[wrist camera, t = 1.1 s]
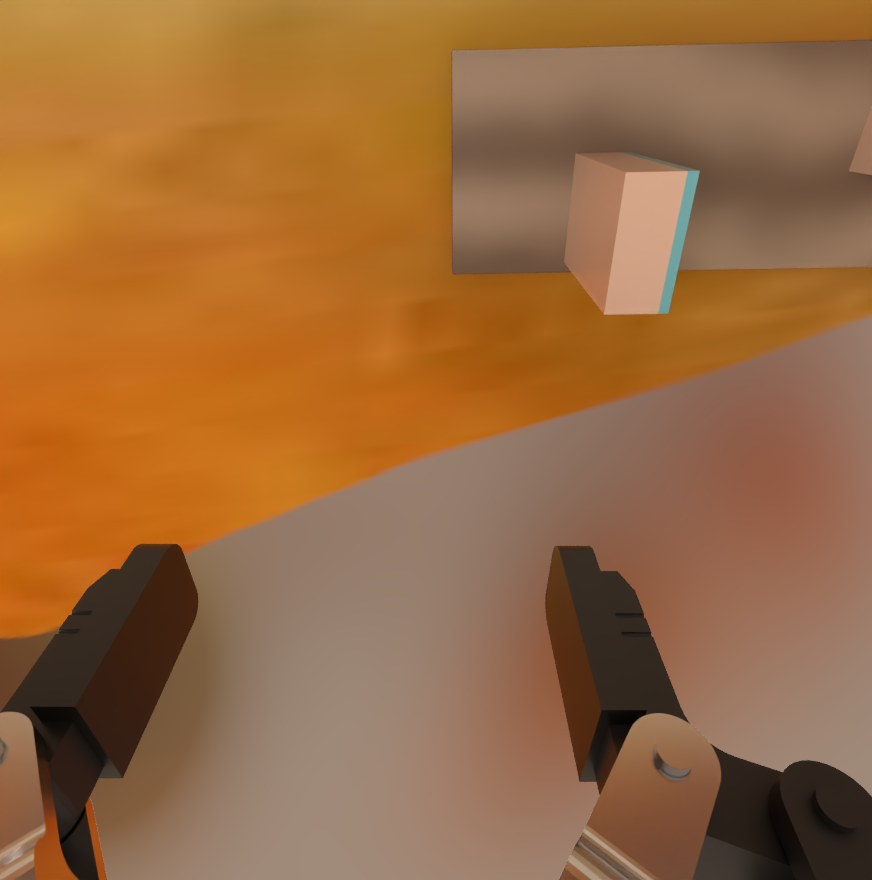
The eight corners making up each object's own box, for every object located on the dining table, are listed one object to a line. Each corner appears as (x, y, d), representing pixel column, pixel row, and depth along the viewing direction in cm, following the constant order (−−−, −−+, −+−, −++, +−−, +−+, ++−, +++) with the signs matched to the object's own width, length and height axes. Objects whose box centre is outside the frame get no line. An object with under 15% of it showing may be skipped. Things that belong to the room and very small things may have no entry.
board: (451, 52, 24) (452, 50, 23) (1088, 37, 23) (1118, 34, 22) (452, 268, 29) (452, 274, 28) (975, 258, 29) (995, 264, 28)
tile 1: (575, 153, 25) (625, 172, 18) (629, 152, 25) (700, 170, 18) (564, 262, 28) (603, 314, 21) (612, 261, 28) (668, 313, 21)
